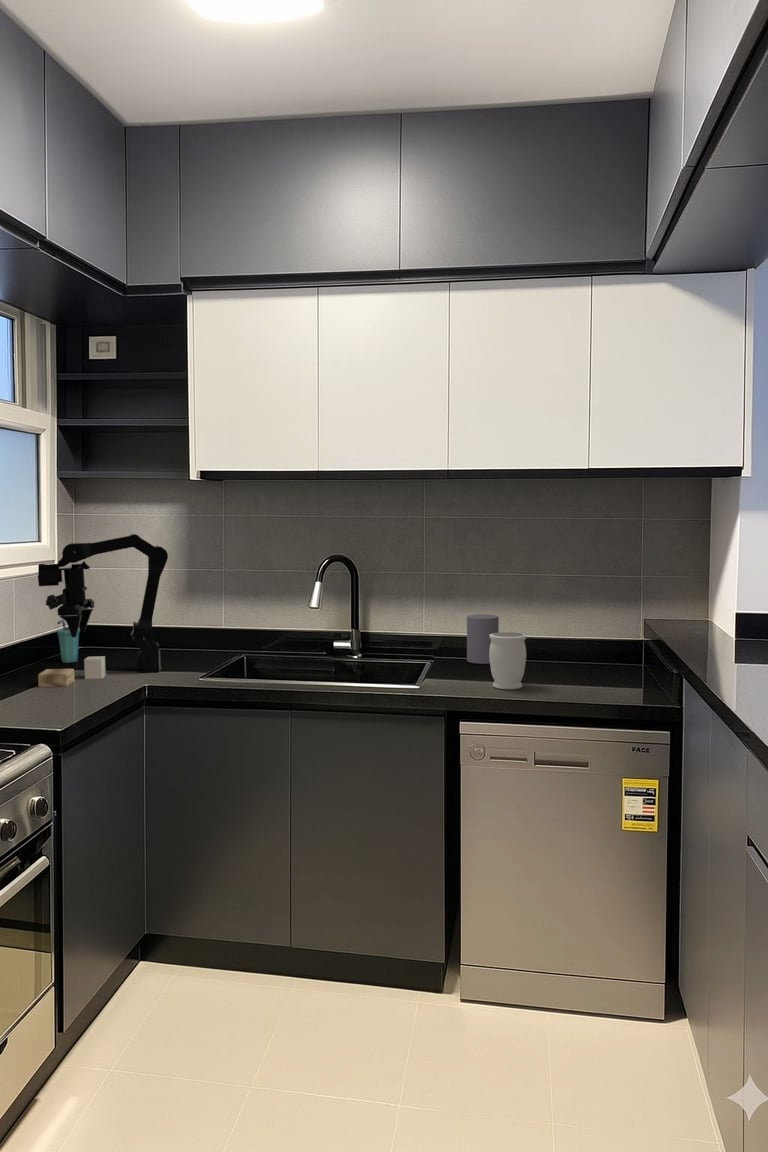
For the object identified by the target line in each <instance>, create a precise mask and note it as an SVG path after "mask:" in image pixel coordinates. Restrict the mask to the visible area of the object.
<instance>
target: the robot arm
mask: <svg viewBox="0 0 768 1152" xmlns="http://www.w3.org/2000/svg"><path fill="white" fill-rule="evenodd" d="M130 548H134V549H136V550H137V551H138V552H141V553H142V554H144V555H145V556H147V578H146V584H145V589H144V595H143V600H142V606H141V609H140V616H139V619H138V620H137V622H136V621H132V622H133V623H132V631H131V632H130V636H131V638H132V641H133V644H134V645H135V647H136V648H139V651H138V655H137V657H136V670H137V673H158V672H160V671H161V669H162V668H163V667H162V666H161V649H160V645H159V643H158V641H157V640H156V639H154V637H153V616H154V611H155V606H156V601H157V596H158V589H159V584H160V581H161V579H160V578H161V576H162V573H163V571H164V569H165V567H166V564H167V562H168V559H169V555H168V554H169V553H168V552H167V550H166V549H165V548H164V547H163V546H159V545H155V546H154V545H153V544H151V543H150V542H148V541H147V540H145V539H143V538H142V537H140V536H139V535H138V534H135V533H133V534H132V533H131V534H130V535H126V536H120V537H116V538H110V539H106V540H105V539H104V540H101V541H100V540H99V541H96V542H72V543H69V544H67V545H66V546H64V547H63V550H62V552H61V553H62V557H61V558H60V560H58V561H57V563H49V564H47V563H46V564H45V563H39V564H38V567H37V568H38V575H37V581H38V587H40V588H41V587H55V586H60V583H62V582H63V577H64V588H63V589H62V594H59V595H55V594H51V595H48V596H46V600H45V605H46V607H47V606H48V608H49V610H50V611H51V610H54V609H56V608H57V611H56V612H57V616H58V617H59V618H60V619H63V620H64V621H65V623H66V625H67V628H69V630H70V633H71V636H72V637H76V635H77V632H78V628H79V629H80V633H81V634H82V633H85V631H86V628H87V626H88V623H89V620H90V618H91V615H92V612H93V610H94V608H95V601H94V600H93V599H92V598H87V597H86V591H87V590H88V588H87V586H86V585H85V584H86V583H85V582H86V581H85V570H89V569H90V568H91V566H90V565H88V564H87V563H86V561H85V559H87V558H91V557H93V556H96V555H101V554H105V553H110V552H115V551H119V550H125V549H130ZM81 561H82V563H78V562H81ZM69 564H70V565H71V567H66V566H68V565H69Z"/></svg>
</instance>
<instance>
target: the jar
mask: <svg viewBox="0 0 768 1152" xmlns="http://www.w3.org/2000/svg"><path fill="white" fill-rule="evenodd" d="M489 637H490V639H491V644H490V650H489V660H490V664H489V665H490V671H491V673H490V674H491V676H492V678H493V680H494V681H493V683H492V687H494V688H496V689H498V690H518V689H521V688H523V683H522V682H521V681H522V679H523V677H524V674H525V670H526V669H525V668H526V662H527V648H526V642H525V640H526V639H527V635H526V634H524V633H520V632H512V631H511V632H510V631H509V632H506V631H504V632H503V631H502V632H499V633H493V634H490V636H489Z"/></svg>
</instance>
